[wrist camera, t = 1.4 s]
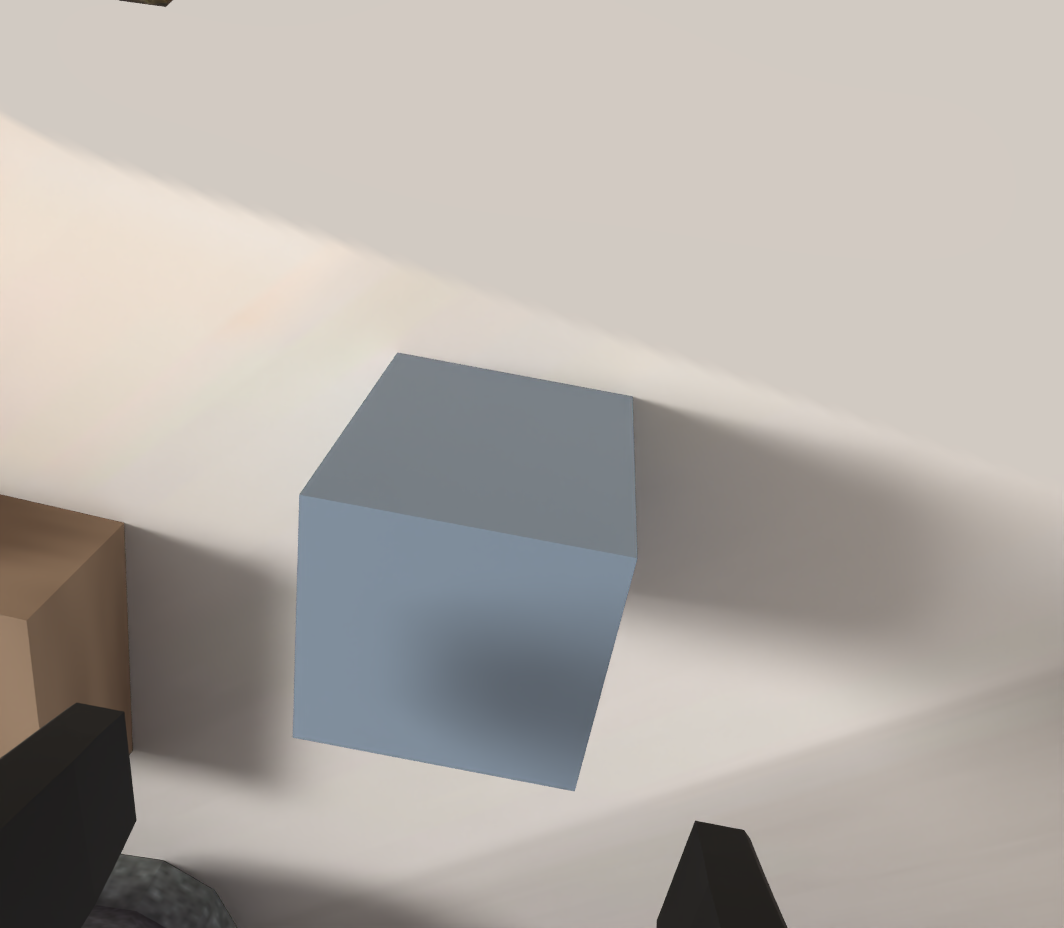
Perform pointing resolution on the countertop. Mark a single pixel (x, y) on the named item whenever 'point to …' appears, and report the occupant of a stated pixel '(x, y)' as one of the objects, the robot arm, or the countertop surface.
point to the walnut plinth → (60, 617)
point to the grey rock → (151, 2)
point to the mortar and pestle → (155, 899)
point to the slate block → (466, 571)
